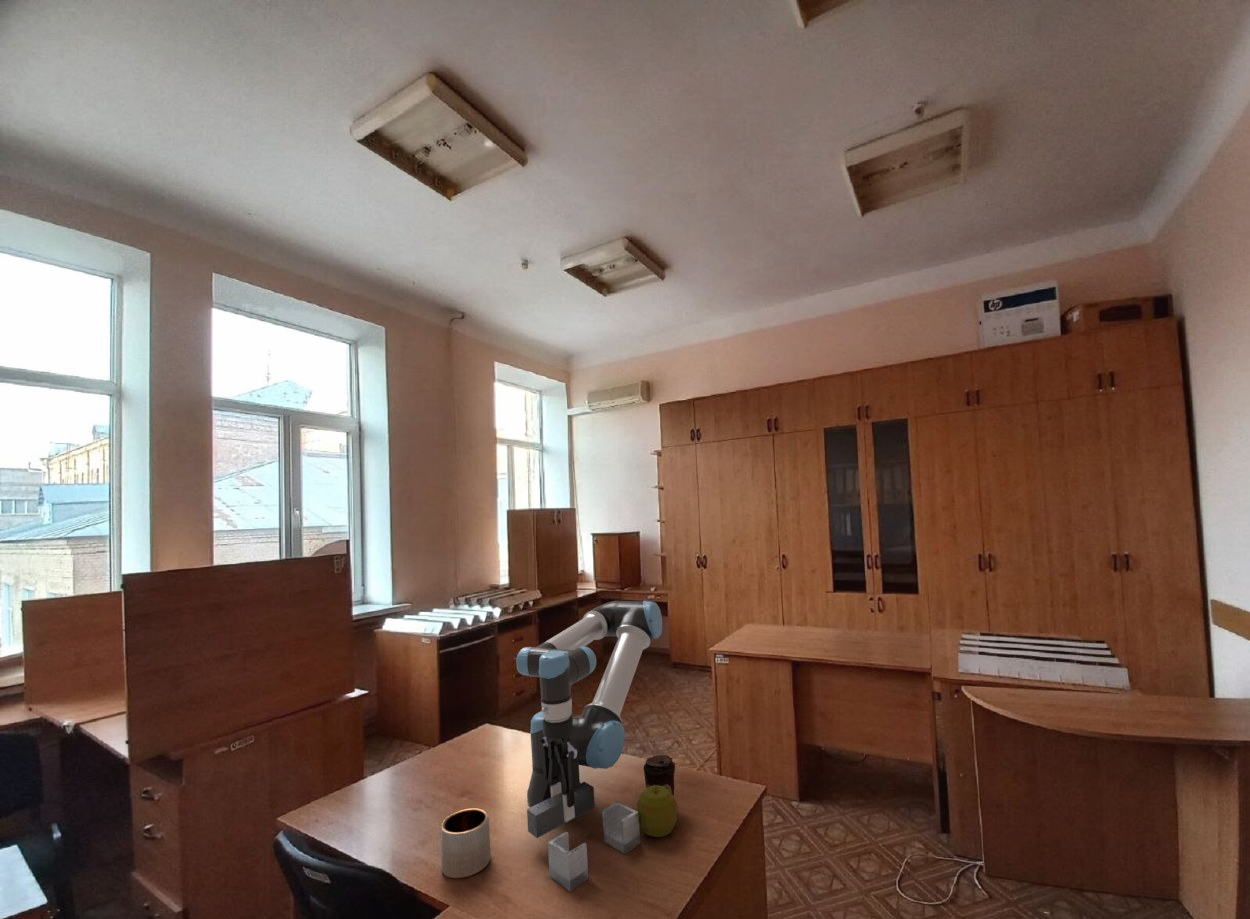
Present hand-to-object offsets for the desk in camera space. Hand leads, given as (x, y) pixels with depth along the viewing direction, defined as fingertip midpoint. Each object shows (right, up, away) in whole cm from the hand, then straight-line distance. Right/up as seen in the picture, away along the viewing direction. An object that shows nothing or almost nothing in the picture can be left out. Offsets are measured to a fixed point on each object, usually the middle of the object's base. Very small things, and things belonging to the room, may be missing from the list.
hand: (563, 815), depth 130 cm
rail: (0, -1, 0) cm, 1 cm away
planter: (-21, -6, -9) cm, 24 cm away
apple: (+23, -4, -1) cm, 24 cm away
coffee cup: (+25, -4, +7) cm, 26 cm away
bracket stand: (+9, -3, -10) cm, 14 cm away
